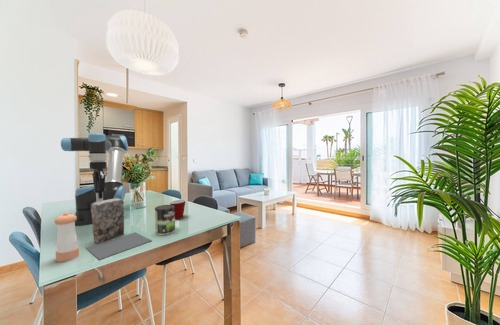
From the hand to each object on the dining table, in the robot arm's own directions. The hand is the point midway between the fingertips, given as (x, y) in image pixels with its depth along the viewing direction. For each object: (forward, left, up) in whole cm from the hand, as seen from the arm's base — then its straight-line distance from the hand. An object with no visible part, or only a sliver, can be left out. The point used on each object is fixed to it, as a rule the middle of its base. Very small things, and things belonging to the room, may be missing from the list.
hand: (100, 203), depth 110 cm
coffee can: (+28, +22, -17) cm, 39 cm away
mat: (+25, 0, -17) cm, 30 cm away
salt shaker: (+20, -18, -17) cm, 32 cm away
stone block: (+12, 0, -17) cm, 21 cm away
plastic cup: (+13, +40, -17) cm, 45 cm away
